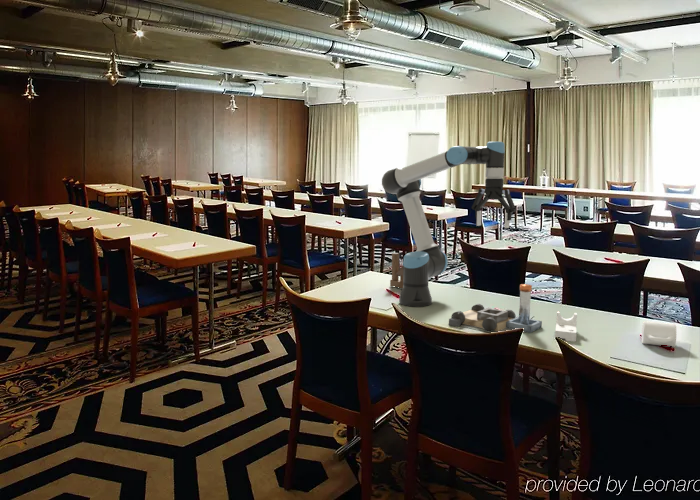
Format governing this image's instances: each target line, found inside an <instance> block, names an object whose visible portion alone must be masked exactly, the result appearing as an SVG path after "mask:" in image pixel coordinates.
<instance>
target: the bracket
mask: <svg viewBox="0 0 700 500" xmlns="http://www.w3.org/2000/svg"><path fill="white" fill-rule="evenodd" d="M577 318H578V313H577V312H573V315H572V316H571V317H569V318H565V317H563V316H562V315H561V312H560V311H558V310H557V312H556V321H555V322H556V323H555V332H554V333H555V334H554V338H556V337H560V338H559V339H563V340H565V341H568V342H577V322H578V321H577Z"/></svg>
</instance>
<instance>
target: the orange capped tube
mask: <svg viewBox="0 0 700 500" xmlns="http://www.w3.org/2000/svg"><path fill="white" fill-rule="evenodd" d="M532 287H533V285H531V284H528V283H527V284H525V283H521V284H519V306H518V307H519V309H518V311H519V312H518V317H519V324H524V325H529V319H531V317H530V316H531V313H530V312H531V299H532V297H531V296H532V291H533V290H532Z"/></svg>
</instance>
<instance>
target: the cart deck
mask: <svg viewBox="0 0 700 500" xmlns="http://www.w3.org/2000/svg"><path fill="white" fill-rule="evenodd" d="M516 317H517V316H516V313H515V311H513V310H512V309H506V310H503V309H498V308H491V307H486V308H485V306H484V305H483V304H481V303H477V304H476V303H475V304H474V305H473V306H472V307H471V308H470V309H468V310H466V311H461V310H457V311H455V312H453V313H452V314H451V317H450V318H456V319H460V320H461V324H462V325H467V326H471V327H475V328H476V327H477V328H481V329H483V330H484V331H486V332H492V331H493V330H494V331H493V332H501V331H502V330H505V329H507V328H506V322H507V321H509V320H511V319H514V318H516Z"/></svg>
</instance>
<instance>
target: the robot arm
mask: <svg viewBox="0 0 700 500" xmlns="http://www.w3.org/2000/svg"><path fill="white" fill-rule="evenodd" d="M505 151H506V149H505V143H504V142H503V141H488V142H487V143H486V146H461V145H455V146H451V147H450V148H449V149H448V150H446V151H443V152H441V153H437V154H436V155H432V156H430V157H428V158H425V159H423V160H420V161H417V162H415V163H412V164H409V165H407V166H405V167H401V166H398V167H396V168H393V169H391V170H388V171H386V172H385V173H384V174H383V176H382V178H381V185H382V188H383V190H384V191H385V192H386V193H389V194H392V195H396V198H397V200H398V201H399V202H401V203H402V206H403V210H404V212H405V215H406V219H407V222H408V225H409V227H410V231H411V234H412V237H413V241H414V242H415V246H416V251H411V252H408V253H406V254H405V255H404V256H403V261H402V266H403V288H402V289H401V292H400V295H399V297H398V298H399V299H398V301H399V302H400V303H399V304H400V305H401V306H402V305H403V306H405V307H406V306H407V307H414V308H415V307H416V308H417V307H426V306H427V307H428V306H431V305H432V303H433V298H432V295H431V290H430V288H429V278H433V277H437V276H439V275H442V274H443V273H444V272H445V271H446V270H447V267H448V265H449V264H448V263H449V261H448V260H449V259H448V257H447V254H446V253H445V252H444V251H441V250H440V246H439V244H436V243H435V241H434V239H433V236H432V233H431V228H430V226H429V223H428V221H427V216H426V214H425V211H424V208H423V205H422V202H421V200H420V195H421V186H422V180H423V179H424V178H427V177H429V176H432V175H433V176H434V175H435V174H439V173H440V172H444V171H447V170H449V169H451V168H454V167H457V166H461V165H485V189H484V188H479V189H478V192H477V195H476V198H475V200H474V201H473V204H472V205H471V209H472V210H474V212H475V213H474V215H475V216H474V217H475V219H476V227H477V226H478V227H480V226H482V214H483V213H482V212H483V211H482V210H481V209H483V207H484V206H485V204H486V203H487V202H488V201H489V200H493V201H494V200H496V201H498V202H499V203H500V204H501V206H502V207H503V209H504V210H505V211H506V212H505V213H504V229H509V228H510V221H512V217H513V215H512V214H513V213H514V212H517V208H516V205H515V203H514V201H513V198H512V196H511V190H510V189H504V174H505V173H504V172H505V153H506V152H505ZM484 194H485V196H483V195H484ZM503 194H504V196H503ZM504 197H505V198H504ZM505 199H506V200H505Z"/></svg>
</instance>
